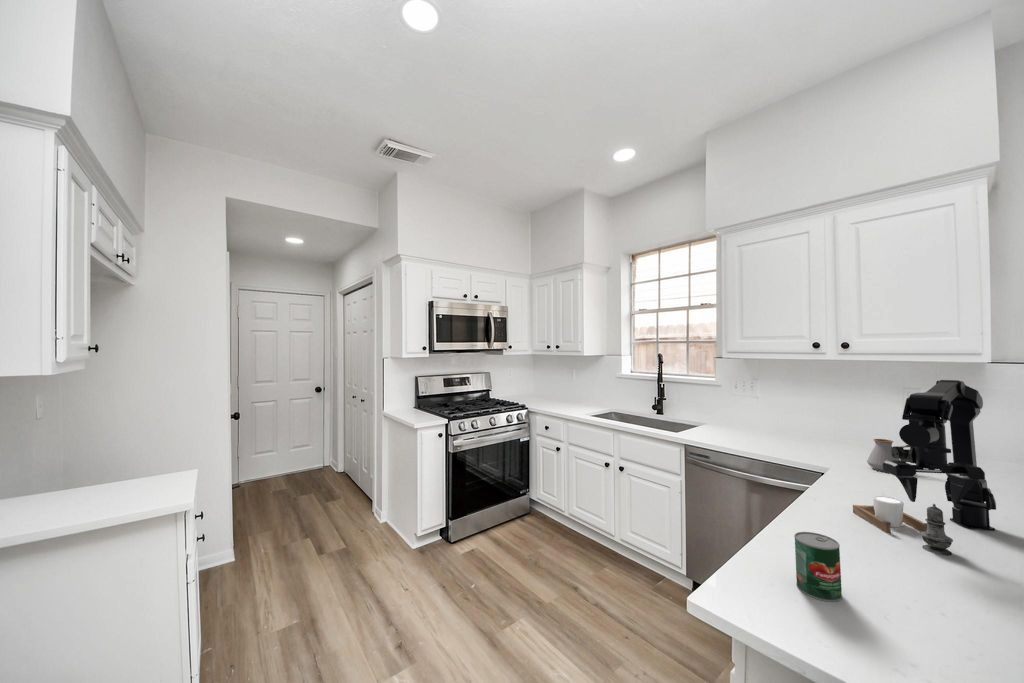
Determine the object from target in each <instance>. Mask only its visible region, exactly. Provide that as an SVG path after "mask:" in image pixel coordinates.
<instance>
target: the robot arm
mask: <svg viewBox="0 0 1024 683" xmlns="http://www.w3.org/2000/svg"><path fill="white" fill-rule="evenodd" d="M983 406H984V402H983V397H982V395H981V394H980V392H979V390H977V389H975V388H973V387H970V386H968V385H966V383H965V381H962V380H958V379H940V380H937V381H936V382H935V384H934V385H933V386H932V387H931V388H930V389H928V390H927V391H925V392H915V393H911V394H910V395H909V396H908V397H907V398H906V400H905V403H904V408H903V412H902V417H901V419H902V420H903V421H904V420H905V421H908V424H905V425H903V426H902V427H901V428H900V430H899V432H898V435H899V437H900V439H901V441H902V442H903V443H904V444H905V445H910V447H909V448H908V449H905V448H903V447H899V446H892V447H891V454H892V457H893V458H894V459H900V461H895V460H886V461H885V462H884V463H883V470H885V471H887V472H886V473H889V474H890V475H892V476H895V477H896V479H898V480H899V482H900V484H901V485H902V487H903V489H904V491H905V493H906V495H907V497H908V500H909V501H910V502H911V503H915V502H916V499H917V491H918V477H916V474H917V473H921V474H923V473H926V474H945V475H946V477H947V478H946V481H945V484H944V490H945V495H946V500H947V502H951V503H952V504H953V506H952V508H951V511H952V512H951V513H952V517H951V518H950V517H949V520H950V521H952V522H953V523H956V524H958V525H959V526H962V527H964V528H966V529H970V530H983V531H996V528H995V527H994V526H991V525H990V524H991V523H990V511H992V510H993V511H995V510H997V503H996V499H995V496H994V494H993V492H992V490H991V489H990V488H989V487H988V482H987V480H986V472H985V471H984V470H983V469H982V467H979V466H977V454H976V451H977V450H976V444H975V443H976V442H975V431H974V430H975V429H974V421H975V420H976V419H977V417H978V416H979V415H980V414H981V409H983ZM947 421H948V422H949V426H950V436H951V446H952V449H951V448H949V447H947V438H946V437H947V436H946V435H947V433H946V425H945V424H946V423H947ZM951 453H952V458H953V459H952V461H953V462H951V461H950V462H948V454H951Z"/></svg>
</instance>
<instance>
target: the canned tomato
mask: <svg viewBox="0 0 1024 683" xmlns="http://www.w3.org/2000/svg"><path fill="white" fill-rule="evenodd" d="M793 537H794V554H795V558H794V559H795V571H796V572H795V574H796V575H795V576H796V584H795V585H796V587H797V589H798V590H799V591H801V593H803V594H805V595H806V596H808V597H809V598H810V597H811V598H812V599H815V600H819V601H823V602H827V603H828V602H830V603H833V602H834V603H835V602H836V603H837V602H839V601H841V600H842V599H843V593H842V589H843V588H842V574H841V571H842V569H841V555H840V554H841V553H840V552H841V551H840V543H839V541H837V540H835V539H834V538H832V537H829V536H827V535H824V534H821V533H817V532H812V531H811V532H810V531H799V532H796V533H794V536H793Z"/></svg>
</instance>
